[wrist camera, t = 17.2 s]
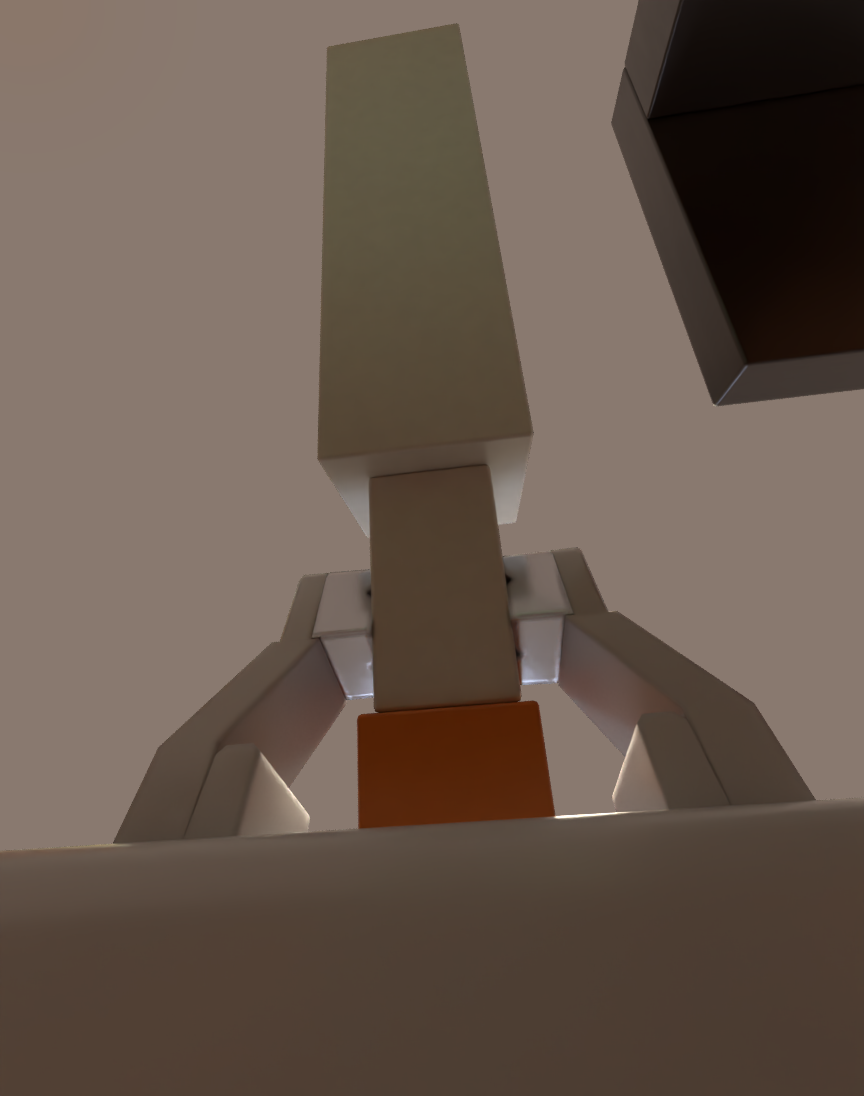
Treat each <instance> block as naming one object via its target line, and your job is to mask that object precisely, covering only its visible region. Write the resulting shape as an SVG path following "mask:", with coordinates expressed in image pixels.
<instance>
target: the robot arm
mask: <svg viewBox="0 0 864 1096" xmlns="http://www.w3.org/2000/svg"><path fill="white" fill-rule="evenodd" d="M502 557H503V564H504V571H505V578H506V586H507V593H508V610H509V617H510V624H511V628H512V630H513V637H514V644H515V652H516V659H517V666H518V673H519V681H520V685H528V684H529V685H530V684H547V683H559V686H560V687H561V688H562V689H563V691H564V692H565V693H566V694H567V695H568V696H569V697H570V698H571V699H572V700H573V701H574V702H575V704H576V705H577V706H578V707H579V708H580V709H581V710H582V711H583V712H584V713H585V714H586V715H587V716H588V718H589V719H590V720H591V721H592V722H593V723H594V724H595V725H596V726H597V727H598V728H599V729H600V730H601V732H602V733H603V734H604V735H605V736H606V737H607V738H608V739H609V740H610V741H611V742H612V743H613V744H614V746H615V747H616V748H617V749H618V750H619V751H620V752H621V753H622V754H623V755H624V756H625V760H624V763H623V766H622V769H621V772H620V775H619V778H618V781H617V784H616V787H615V790H614V793H613V796H612V799H613V803H614V806H615V809H616V813H603V814H587V815H571V816H554V817H538V818H522V819H506V820H489V821H473V822H457V823H441V824H425V825H408V826H392V827H376V828H360V829H345V830H327V831H312V832H308V827H309V821H310V816H309V815H308V813H307V812H306V810H305V809H304V808H303V806H302V805H301V804H300V803H299V801H298V800H297V799H296V797H295V796H294V795H293V793H292V792H291V791H290V789H289V787H290V785H291V784H292V783H293V781H294V780H295V778H296V777H297V775H298V774H299V772H300V771H301V769H302V768H303V767H304V765H305V763H306V762H307V760H308V759H309V757H310V756H311V755H312V753H313V752H314V750H315V749H316V748H317V746H318V745H319V743H320V742H321V740H322V739H323V737H324V736H325V734H326V733H327V731H328V730H329V729H330V727H331V725H332V724H333V723H334V721H335V720H336V718H337V717H338V715H339V714H340V712H341V711H342V709H343V708H344V707H345V705H346V704H347V701H346V700H353V699H362V698H371V697H374V692H373V650H372V641H373V618H372V608H371V569H368V570H355V571H343V572H330V573H324V574H312V575H311V574H310V575H304V576H303V577H302V578H301V579H300V581H299V583H298V586H297V590H296V593H295V596H294V599H293V602H292V605H291V608H290V611H289V614H288V618H287V621H286V624H285V627H284V630H283V633H282V636H281V639H280V642H274V643H271V644H270V645H269V646H268V647H267V648H266V649H264V650H263V651H262V652H261V653H260V654H259V655H258V656H257V657H256V658H255V659H254V660H252V662H250V663H249V664H248V665H247V666H246V667H245V668H244V669H243V670H242V671H241V672H240V673H238V674H237V675H236V676H235V677H234V678H233V679H232V680H231V681H230V682H229V683H228V684H227V685H225V686H224V687H223V688H222V689H221V690H220V691H219V692H218V693H217V694H216V695H215V696H214V697H213V698H211V699H210V700H209V701H208V702H207V703H206V704H205V705H204V706H203V707H202V708H201V709H200V710H199V711H197V712H196V713H195V714H194V715H193V716H192V717H191V718H190V719H189V720H188V721H187V722H186V723H185V724H183V725H182V726H181V727H180V728H179V729H178V730H177V731H176V732H175V733H174V734H173V735H171V737H169V738H168V739H167V740H166V741H165V742H164V743H163V744H162V745H161V746H160V747H159V748H158V749H157V752H156V754H155V756H154V758H153V760H152V762H151V764H150V766H149V768H148V770H147V773H146V775H145V777H144V779H143V781H142V783H141V785H140V787H139V789H138V792H137V794H136V796H135V798H134V800H133V802H132V804H131V806H130V808H129V810H128V813H127V815H126V817H125V819H124V821H123V823H122V825H121V827H120V829H119V831H118V833H117V836H116V838H115V840H114V842H113V844H103V845H88V846H87V845H86V846H70V847H56V848H55V847H54V848H40V849H39V848H38V849H22V850H6V851H0V1096H864V797H863V798H846V799H830V800H816V799H815V798H814V796H813V795H812V793H811V792H810V790H809V788H808V787H807V785H806V784H805V782H804V781H803V779H802V777H801V776H800V774H799V773H798V772H797V770H796V768H795V766H794V765H793V763H792V762H791V760H790V759H789V757H788V756H787V754H786V752H785V751H784V749H783V748H782V746H781V745H780V743H779V741H778V740H777V738H776V737H775V735H774V734H773V732H772V730H771V729H770V727H769V726H768V724H767V723H766V721H765V719H764V718H763V716H762V715H761V713H760V712H759V710H758V709H757V707H756V706H755V704H754V703H753V702H752V701H750V700H749V699H747V698H746V697H744V696H743V695H741V694H740V693H738V692H737V691H735V690H734V689H732V688H731V687H729V686H728V685H726V684H725V683H723V682H722V681H720V680H719V679H717V678H716V677H714V676H713V675H712V674H710V673H709V672H707V671H706V670H704V669H703V668H701V667H700V666H698V665H697V664H695V663H694V662H692V661H691V660H689V659H688V658H686V657H685V656H683V655H682V654H680V653H679V652H677V651H676V650H674V649H673V648H671V647H670V646H668V645H667V644H665V643H664V642H663V641H661V640H659V639H658V638H657V637H655V636H653V635H652V634H651V633H649V632H647V631H646V630H644V629H643V628H642V627H640V626H639V625H637V624H636V623H634V622H633V621H631V620H630V619H628V618H627V617H625V616H624V615H622V614H621V613H619V612H618V611H612V612H608V610H607V607H606V605H605V603H604V600H603V598H602V596H601V594H600V591H599V589H598V587H597V585H596V583H595V580H594V578H593V576H592V573H591V571H590V569H589V567H588V564H587V562H586V560H585V558H584V555H583V553H582V551H581V550H580V549H579V548H578V547H576V548H567V549H559V550H551V551H546V552H537V553H529V554H518V555H509V556H502Z"/></svg>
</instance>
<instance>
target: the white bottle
mask: <svg viewBox="0 0 864 1096" xmlns="http://www.w3.org/2000/svg"><path fill="white" fill-rule="evenodd" d="M321 287H322V288H321V329H320V330H321V331H320V372H319V373H320V374H319V415H318V416H319V417H318V458H317V459H318V460H319V462H320V464H321V465H322V467H323V469H324V470H325V472H326V473H327V475H328V477H329V478H330V480H331V481H332V483H333V484H334V486H335V488H336V489H337V491H338V492H339V494H340V495H341V497H342V499H343V500H344V501H345V503H346V505H347V506H348V508H349V510H350V511H351V513H352V514H353V516H354V517H355V519H356V521H357V522H358V524H359V525H360V527H361V529H362V530H363V532H364V533H365V535H366V537H367V538H370V565H371V608H372V618H373V641H372V650H373V692H374V709H375V711H376V712H378V713H371V714H361V715H359V716H358V719H357V748H358V829H360V828H376V827H392V826H408V825H425V824H441V823H457V822H473V821H489V820H506V819H522V818H538V817H554V816H555V810H554V805H553V797H552V790H551V784H550V777H549V770H548V764H547V757H546V750H545V743H544V737H543V730H542V724H541V716H540V710H539V705H538V703H537V702H536V701H524V702H518V701H520V700H521V689H520V681H519V673H518V666H517V659H516V652H515V644H514V637H513V630H512V628H511V624H510V617H509V610H508V593H507V586H506V578H505V571H504V564H503V557H502V550H501V543H500V535H499V528H498V524H507V523H515V522H516V520H517V515H518V510H519V505H520V500H521V494H522V489H523V484H524V479H525V474H526V469H527V463H528V459H529V454H530V449H531V444H532V438H533V427H532V422H531V416H530V411H529V405H528V400H527V394H526V389H525V384H524V378H523V372H522V368H521V361H520V356H519V351H518V345H517V340H516V334H515V329H514V323H513V318H512V312H511V307H510V301H509V296H508V290H507V285H506V279H505V274H504V269H503V263H502V258H501V252H500V247H499V241H498V236H497V231H496V225H495V219H494V214H493V208H492V203H491V198H490V192H489V187H488V181H487V176H486V171H485V165H484V159H483V154H482V148H481V143H480V138H479V132H478V126H477V121H476V116H475V110H474V105H473V99H472V94H471V88H470V83H469V77H468V72H467V66H466V61H465V55H464V50H463V44H462V39H461V33H460V28H459V24H457V23H456V24H451V25H445V26H440V27H434V28H429V29H423V30H418V31H412V32H406V33H402V34H395V35H390V36H385V37H379V38H373V39H368V40H362V41H357V42H351V43H346V44H341V45H335V46H329V47H328V48H327V72H326V115H325V158H324V201H323V244H322V286H321Z"/></svg>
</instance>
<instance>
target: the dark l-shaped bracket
mask: <svg viewBox="0 0 864 1096" xmlns="http://www.w3.org/2000/svg"><path fill="white" fill-rule="evenodd" d="M611 123H612V127H613V130H614V133H615V135H616V138H617V141H618V144H619V146H620V149H621V152H622V155H623V157H624V160H625V163H626V166H627V168H628V171H629V174H630V177H631V180H632V182H633V185H634V188H635V190H636V193H637V196H638V199H639V201H640V204H641V207H642V210H643V213H644V215H645V218H646V221H647V224H648V226H649V229H650V232H651V235H652V237H653V240H654V243H655V246H656V248H657V251H658V254H659V257H660V260H661V262H662V265H663V268H664V270H665V273H666V276H667V279H668V282H669V284H670V287H671V290H672V292H673V295H674V298H675V301H676V303H677V306H678V309H679V312H680V315H681V317H682V320H683V323H684V325H685V328H686V331H687V334H688V336H689V339H690V342H691V345H692V348H693V351H694V353H695V356H696V359H697V362H698V364H699V367H700V370H701V373H702V375H703V378H704V381H705V384H706V386H707V389H708V392H709V394H710V397H711V400H712V403H713V405H714V406H724V405H732V404H741V403H748V402H758V401H766V400H775V399H783V398H791V397H800V396H808V395H817V394H826V393H834V392H843V391H852V390H860V389H864V0H639V2H638V6H637V11H636V15H635V20H634V24H633V28H632V33H631V37H630V42H629V46H628V51H627V56H626V60H625V68H624V70H623V73H622V78H621V82H620V87H619V91H618V96H617V100H616V105H615V109H614V113H613V118H612V122H611Z"/></svg>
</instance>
